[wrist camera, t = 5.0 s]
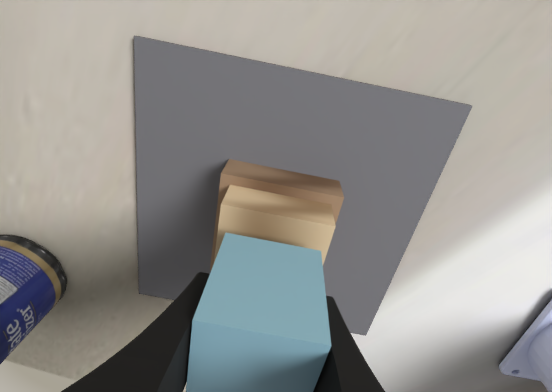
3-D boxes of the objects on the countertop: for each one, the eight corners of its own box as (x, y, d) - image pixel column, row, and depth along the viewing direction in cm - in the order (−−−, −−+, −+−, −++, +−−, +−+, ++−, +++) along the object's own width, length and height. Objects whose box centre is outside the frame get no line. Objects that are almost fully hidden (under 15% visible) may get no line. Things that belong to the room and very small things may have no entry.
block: (320, 250, 13) (331, 345, 9) (300, 318, 15) (300, 423, 11) (225, 232, 13) (192, 320, 9) (216, 302, 15) (185, 402, 11)
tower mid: (331, 204, 15) (335, 226, 13) (307, 281, 17) (308, 309, 16) (229, 184, 15) (220, 204, 13) (219, 265, 17) (210, 290, 16)
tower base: (339, 180, 17) (344, 197, 15) (312, 267, 19) (314, 289, 18) (229, 158, 17) (221, 173, 15) (217, 248, 19) (209, 270, 18)
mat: (469, 104, 15) (472, 105, 15) (365, 331, 22) (365, 335, 22) (137, 36, 14) (134, 35, 14) (140, 290, 22) (139, 293, 21)
